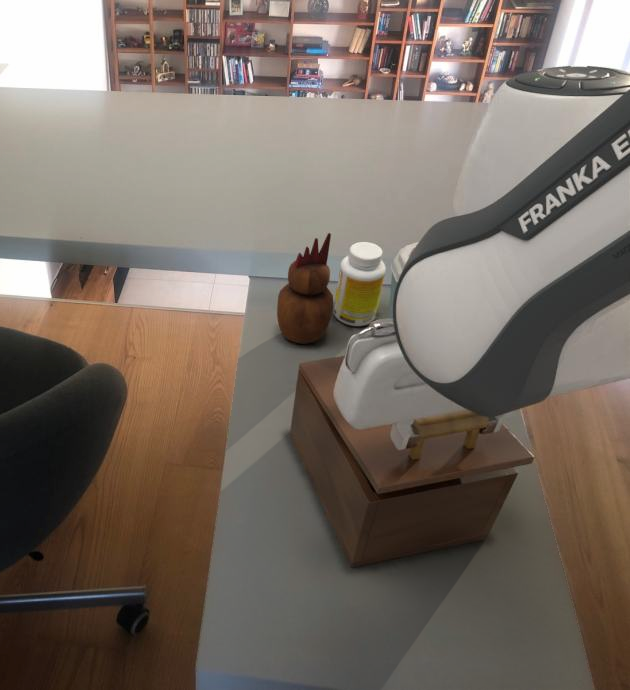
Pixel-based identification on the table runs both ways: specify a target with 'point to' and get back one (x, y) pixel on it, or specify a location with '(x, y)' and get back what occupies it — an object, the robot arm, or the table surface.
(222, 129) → the table surface
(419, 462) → the lid
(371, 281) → the supplement bottle
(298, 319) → the wooden figurine
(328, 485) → the chest
